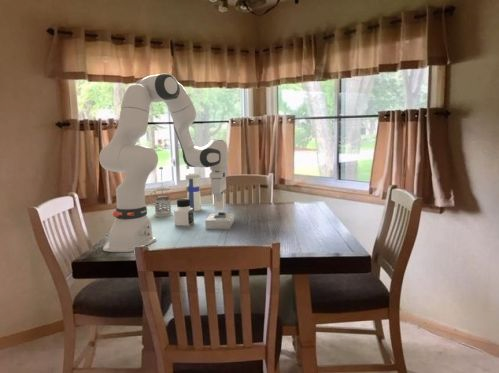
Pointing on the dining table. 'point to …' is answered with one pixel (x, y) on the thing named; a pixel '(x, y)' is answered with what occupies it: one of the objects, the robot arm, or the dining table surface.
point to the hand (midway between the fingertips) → (219, 200)
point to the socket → (219, 221)
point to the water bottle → (193, 190)
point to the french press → (166, 200)
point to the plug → (220, 204)
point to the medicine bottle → (183, 213)
